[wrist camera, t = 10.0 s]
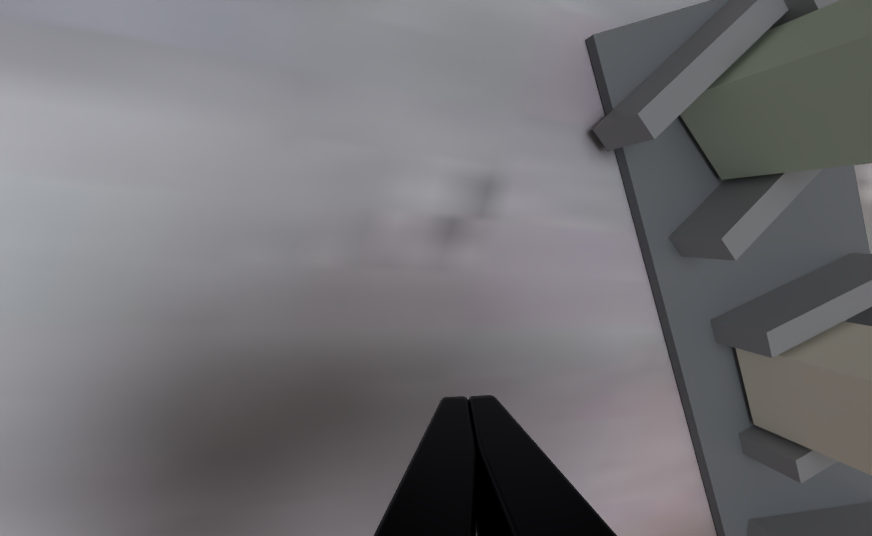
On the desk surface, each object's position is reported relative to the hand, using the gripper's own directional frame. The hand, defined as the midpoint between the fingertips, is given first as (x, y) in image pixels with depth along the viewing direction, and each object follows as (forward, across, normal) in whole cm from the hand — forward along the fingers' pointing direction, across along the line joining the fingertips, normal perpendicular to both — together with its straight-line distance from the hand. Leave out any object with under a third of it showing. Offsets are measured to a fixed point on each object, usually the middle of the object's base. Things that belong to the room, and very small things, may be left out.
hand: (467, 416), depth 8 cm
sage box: (+18, -13, -2) cm, 22 cm away
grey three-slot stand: (+14, -16, +10) cm, 24 cm away
